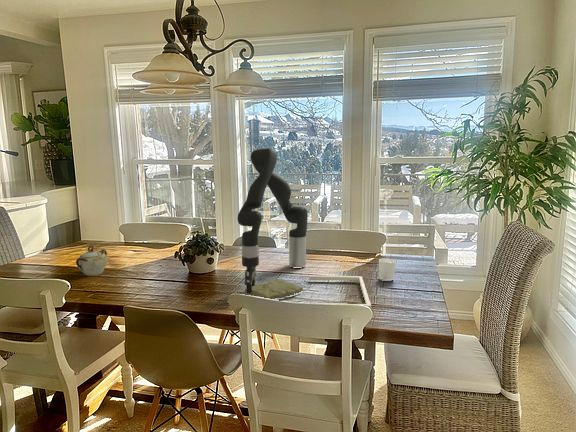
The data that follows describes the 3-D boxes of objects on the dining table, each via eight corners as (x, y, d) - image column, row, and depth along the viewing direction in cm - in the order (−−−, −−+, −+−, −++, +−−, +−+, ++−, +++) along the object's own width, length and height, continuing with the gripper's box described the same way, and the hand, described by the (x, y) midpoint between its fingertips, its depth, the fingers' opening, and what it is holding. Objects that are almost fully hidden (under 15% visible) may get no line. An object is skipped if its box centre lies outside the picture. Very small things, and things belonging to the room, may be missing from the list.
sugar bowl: (89, 280, 204) (86, 251, 202) (66, 277, 210) (64, 248, 207) (118, 269, 223) (116, 242, 220) (97, 266, 228) (94, 240, 225)
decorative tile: (244, 294, 186) (243, 287, 185) (277, 284, 199) (277, 277, 199) (271, 305, 172) (271, 297, 172) (305, 294, 186) (305, 286, 185)
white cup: (378, 282, 200) (379, 262, 199) (377, 277, 208) (378, 258, 206) (395, 282, 199) (396, 262, 198) (393, 277, 207) (394, 258, 205)
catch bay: (309, 281, 202) (309, 275, 202) (361, 282, 200) (361, 276, 200) (306, 311, 166) (306, 303, 165) (370, 312, 164) (371, 305, 163)
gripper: (244, 250, 190) (245, 284, 193) (238, 258, 176) (239, 295, 179) (261, 251, 190) (261, 284, 192) (256, 259, 176) (256, 295, 178)
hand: (250, 289), depth 186 cm, fingers open, 8 cm apart
